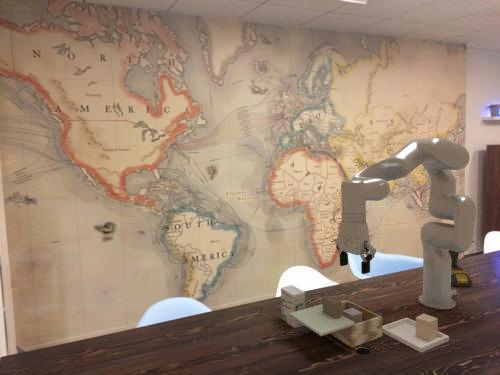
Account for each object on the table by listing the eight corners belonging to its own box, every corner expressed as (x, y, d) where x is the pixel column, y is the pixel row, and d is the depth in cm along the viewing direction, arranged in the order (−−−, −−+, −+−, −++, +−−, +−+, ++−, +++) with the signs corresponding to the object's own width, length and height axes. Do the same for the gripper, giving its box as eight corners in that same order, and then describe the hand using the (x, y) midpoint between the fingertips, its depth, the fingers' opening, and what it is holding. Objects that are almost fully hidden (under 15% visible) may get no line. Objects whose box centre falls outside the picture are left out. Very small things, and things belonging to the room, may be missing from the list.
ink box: (280, 318, 127) (280, 287, 126) (292, 315, 129) (291, 284, 128) (294, 328, 119) (293, 294, 118) (306, 325, 121) (305, 292, 120)
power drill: (483, 292, 145) (485, 232, 143) (461, 293, 145) (462, 233, 143) (455, 276, 165) (456, 223, 163) (436, 276, 165) (437, 224, 163)
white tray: (406, 322, 121) (406, 317, 121) (448, 342, 107) (449, 336, 107) (379, 332, 115) (379, 326, 114) (421, 354, 101) (421, 348, 101)
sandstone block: (423, 331, 113) (423, 313, 113) (437, 336, 110) (437, 318, 109) (415, 335, 111) (415, 317, 110) (430, 341, 107) (430, 322, 107)
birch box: (347, 318, 125) (347, 299, 124) (382, 338, 111) (382, 316, 111) (318, 328, 119) (317, 308, 118) (351, 349, 105) (351, 327, 105)
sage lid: (321, 306, 119) (321, 289, 119) (355, 324, 105) (355, 306, 105) (289, 315, 113) (289, 298, 112) (321, 336, 99) (320, 316, 99)
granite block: (352, 324, 119) (352, 307, 118) (362, 330, 115) (362, 312, 114) (342, 328, 117) (342, 310, 116) (352, 333, 113) (352, 315, 112)
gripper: (326, 215, 120) (328, 264, 121) (365, 223, 105) (366, 279, 106) (343, 213, 123) (344, 260, 125) (383, 219, 108) (383, 274, 110)
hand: (354, 269), depth 115 cm, fingers open, 9 cm apart
